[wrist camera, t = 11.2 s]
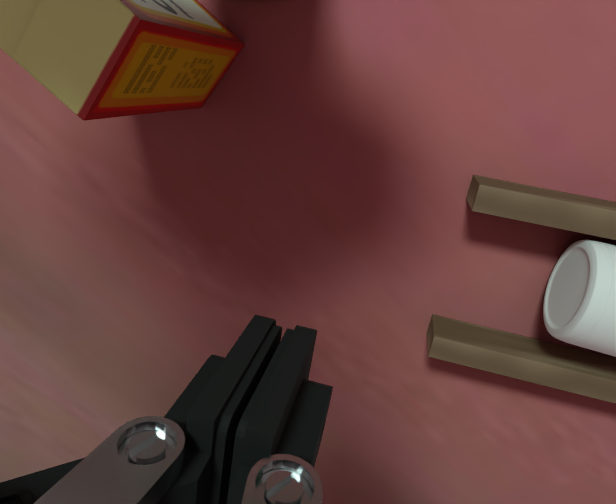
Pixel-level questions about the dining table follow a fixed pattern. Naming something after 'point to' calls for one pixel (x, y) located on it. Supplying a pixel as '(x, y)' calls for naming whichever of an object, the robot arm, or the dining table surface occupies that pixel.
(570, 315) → the pill bottle
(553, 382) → the u rest
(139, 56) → the baking soda box
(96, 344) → the dining table surface
